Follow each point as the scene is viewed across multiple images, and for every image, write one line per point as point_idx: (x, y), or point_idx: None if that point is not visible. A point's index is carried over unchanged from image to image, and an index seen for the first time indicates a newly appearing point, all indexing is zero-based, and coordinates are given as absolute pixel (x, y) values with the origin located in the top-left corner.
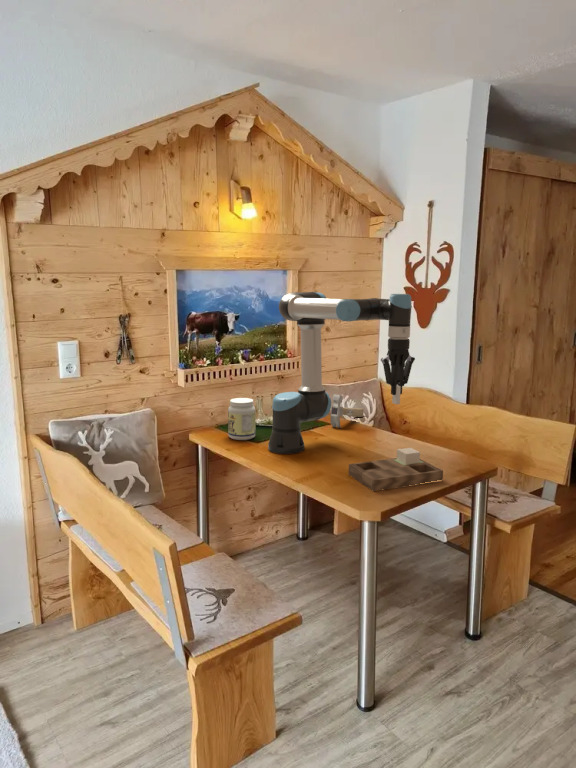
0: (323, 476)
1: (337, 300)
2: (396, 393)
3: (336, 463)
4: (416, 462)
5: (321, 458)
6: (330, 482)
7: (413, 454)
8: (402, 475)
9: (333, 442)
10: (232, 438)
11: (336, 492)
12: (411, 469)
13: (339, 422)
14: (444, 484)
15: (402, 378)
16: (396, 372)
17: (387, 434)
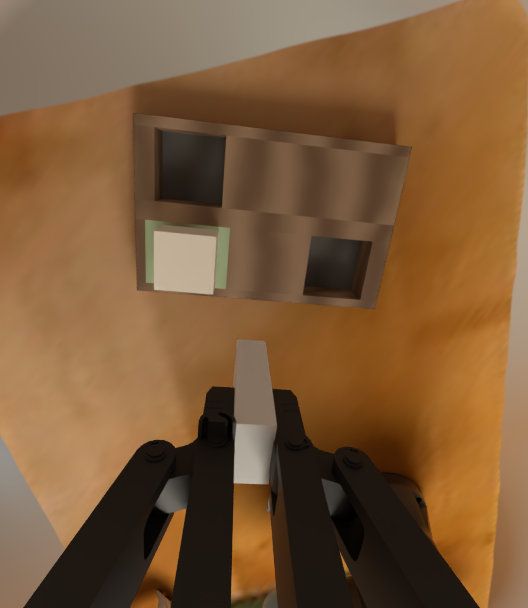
0: (429, 312)
1: None
2: (271, 386)
3: (335, 381)
4: (174, 226)
5: (345, 424)
6: (445, 267)
7: (183, 232)
8: (299, 140)
9: (241, 510)
10: None
11: (484, 194)
12: (232, 178)
13: (160, 606)
14: (154, 91)
15: (203, 496)
16: (315, 591)
17: (60, 520)
